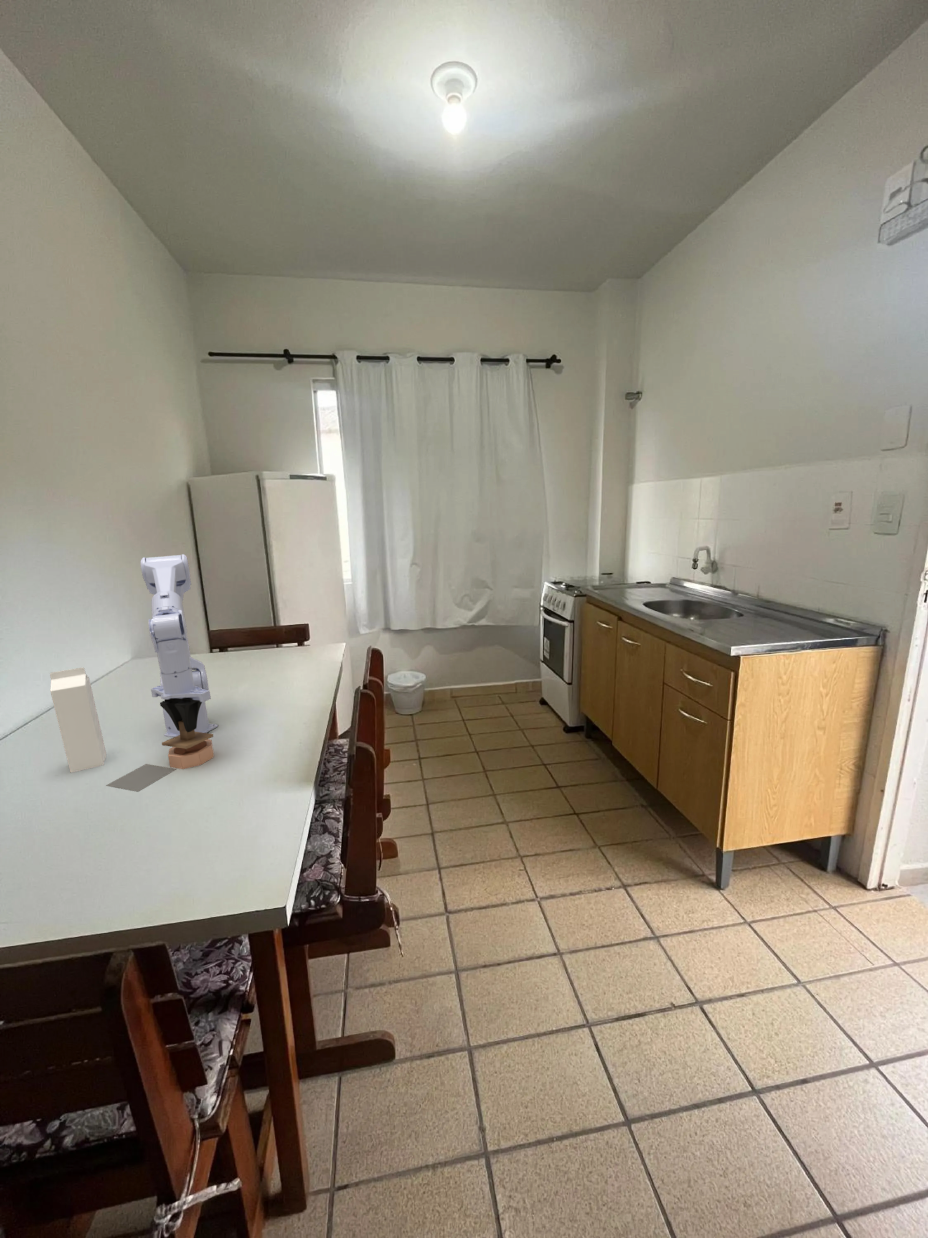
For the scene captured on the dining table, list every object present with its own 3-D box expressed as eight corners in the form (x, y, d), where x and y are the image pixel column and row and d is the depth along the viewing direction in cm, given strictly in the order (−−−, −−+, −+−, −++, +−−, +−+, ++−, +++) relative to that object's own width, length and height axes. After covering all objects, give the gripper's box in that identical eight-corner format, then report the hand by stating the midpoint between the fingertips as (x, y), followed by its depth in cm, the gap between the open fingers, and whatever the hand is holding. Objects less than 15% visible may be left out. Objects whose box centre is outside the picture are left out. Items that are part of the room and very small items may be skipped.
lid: (162, 745, 109) (159, 724, 108) (189, 733, 116) (187, 714, 115) (186, 749, 107) (184, 727, 106) (213, 736, 113) (211, 716, 113)
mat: (105, 786, 103) (105, 785, 103) (146, 765, 111) (145, 763, 111) (138, 793, 100) (138, 791, 100) (177, 770, 108) (177, 769, 108)
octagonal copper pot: (162, 766, 110) (159, 754, 109) (193, 749, 118) (191, 737, 117) (191, 771, 107) (189, 758, 107) (222, 753, 115) (220, 740, 114)
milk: (104, 766, 112) (82, 670, 107) (70, 774, 109) (46, 676, 104) (107, 755, 117) (86, 663, 112) (74, 762, 114) (52, 669, 109)
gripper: (133, 674, 107) (146, 734, 110) (186, 678, 102) (197, 741, 105) (163, 663, 113) (174, 720, 116) (213, 667, 108) (223, 726, 111)
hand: (187, 729), depth 111 cm, fingers closed on lid
